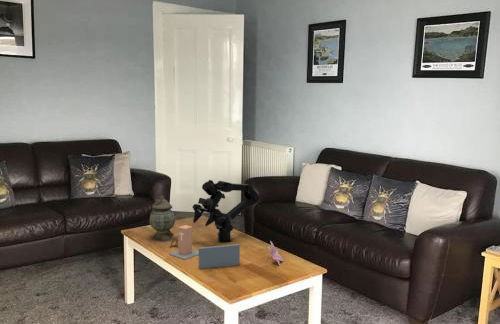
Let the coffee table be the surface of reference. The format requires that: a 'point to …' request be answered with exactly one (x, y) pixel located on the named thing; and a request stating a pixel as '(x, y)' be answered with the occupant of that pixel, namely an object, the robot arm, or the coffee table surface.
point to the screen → (219, 256)
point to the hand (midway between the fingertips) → (199, 224)
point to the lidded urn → (162, 220)
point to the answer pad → (184, 257)
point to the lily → (274, 253)
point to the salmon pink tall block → (185, 239)
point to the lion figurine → (175, 239)
